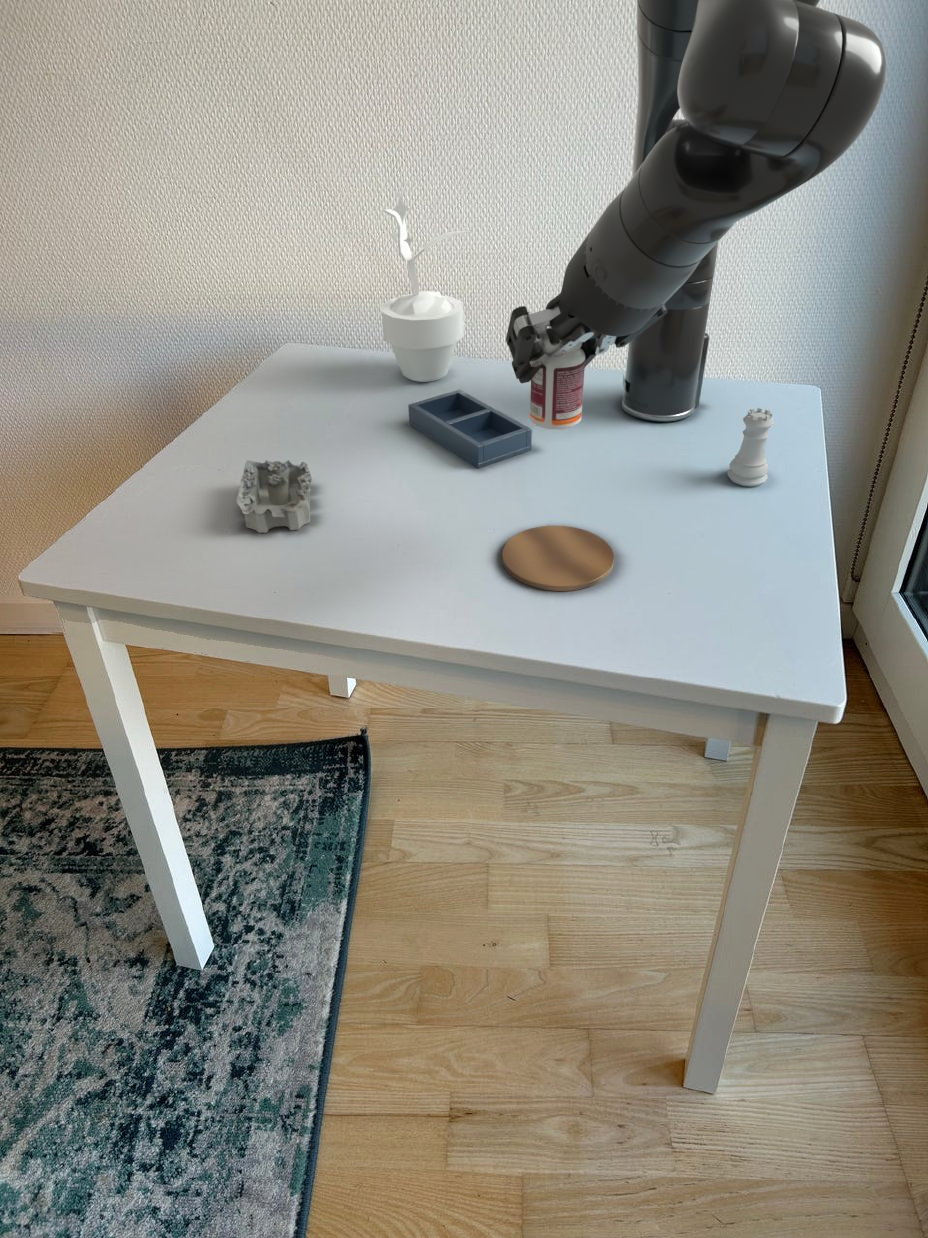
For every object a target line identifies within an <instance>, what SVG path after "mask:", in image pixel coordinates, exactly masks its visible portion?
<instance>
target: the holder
mask: <svg viewBox="0 0 928 1238" xmlns="http://www.w3.org/2000/svg"><path fill="white" fill-rule="evenodd" d="M407 405H408V421H409V422H408V423H409V426H411V427H412V428H414V429H416V430H417V431H419V432H420V433H422V434H423V435H425V436H426V437H428V438H429V439H430V440H433V441H434V442H436V443H438V444H439V445H441V447H444V448H445V449H447V450H449V451H450V452H452V453H453V454H455V455H456V456H458V457H459V458H460V459H462V460H464V461H465V462H468V463H469V464H471V465H472V466H474V467H475V468H477V469H480V468H484V467H487V466H490V465H493V464H495V463H499V462H501V461H504V460H506V459H509V458H510V459H511V458H512V457H515V456H519V455H522V454H524V453H527V452H530V451H531V450H532V439H533V437H532V436H533V435H532V434H533V429H532V428H531V427H529V426H527V425H525V424H524V423H522V422H520V421H518V420H516V419H514V418H513V417H511V416H509V415H507V414H505V413H504V412H501V411H500V410H498V409H496V408H494V407H492V406H491V405H489V404H487V403H485V402H483V401H482V400H479V399H478V398H476V397H474V396H472V395H470V394H469V393H467V392H465V391H463V390H461V389H457V390H453V391H449V392H446V393H443V394H439V395H435V396H432V397H428V398H426V399H422V400H418V401H415V402H412V403H408V404H407Z"/></svg>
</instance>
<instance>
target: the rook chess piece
mask: <svg viewBox="0 0 928 1238" xmlns="http://www.w3.org/2000/svg"><path fill="white" fill-rule="evenodd" d="M755 410H756V411H755ZM742 421H743V423H744V425H745V429H744V430H742V435H743V439H742V442H741V445H740V447H739V451H738V452H737V454H736V455H734V458H733V459H732V460H731V461H730V463H729V469H728V470H727V476H728V477H729V480H730V481H731V482H732V483H735V484H736V485H738V486H743V487H749V488H750V487H751V488H752V487H758V486H762V485H763V484H764V483H765V482H766V481H767V480H768V478H769V477H768V476H769V475H768V473H769V472H770V471H769V470H770V469H769V464H768V462H767V461H768V460H767V458H766V444H767V439H768V438H769V437H770V432H769V429H770V428H771V427H772V426H773V425H774V424H775V420H774V418H773V412H771V410H770V409H767V408H766V409H765V410H764V412H763V407H757V409H756V408H754V407H752V408H750V409H749V410H748V411H747V414H746V415H745V416H743V418H742Z"/></svg>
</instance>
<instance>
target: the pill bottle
mask: <svg viewBox="0 0 928 1238" xmlns="http://www.w3.org/2000/svg"><path fill="white" fill-rule="evenodd" d="M559 340H560V339H559ZM538 342H539V345H540V348H541V350H542V349H543V348H544V344H543V341H542V338H540V340H539V341H538ZM560 342H561V340H560ZM581 346H582V342H579V343H578V344H577V345H575V346H574V347H573V348H571V349H570V350H569V351H567V352H566V353H565V354H563V355H562V356H552V357H551V358H549V359H548V360H547V361H545V362H544V363H543V365H542V366H541V368H540V369H539V370H538V372H537V373H536V374H535V375H534V377H533V378H532V379H531V380H530V399H529V400H530V401H529V412H530V413H529V419H530V422H531V423H532V424H533V425H535V426H536V427H539V428H541V429H542V428H543V429H546V430H552V431H553V430H554V431H561V430H566V429H571V428H573V427H575V426H577V425H579V424H580V422H581V421H582V414H583V401H584V400H583V399H584V398H583V397H584V386H585V385H584V384H585V369H586V367H585V353H584V351H583V350H582V349H581V348H580V347H581Z"/></svg>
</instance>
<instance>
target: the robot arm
mask: <svg viewBox="0 0 928 1238" xmlns="http://www.w3.org/2000/svg"><path fill="white" fill-rule="evenodd" d="M820 1H821V0H636V35H637V36H636V41H637V42H636V44H637V78H638V79H637V80H638V81H637V82H638V87H637V88H638V89H637V91H638V93H637V108H636V110H637V111H636V122H635V135H634V149H633V157H632V177H631V179H630V180H629V182H628V183H627V184H626V186H625V187H624V188H623V190H622V191H621V192H620V193H618V194H617V195H616V196H615V198H613V200H612V201H611V202H610V203H609V204H608V205H607V206H606V208H605V210H604V211H603V212H602V214H600V215H601V216H599V218H598V220H597V221H596V222H595V224H594V225H593V227H592V228H591V230H590V231H589V233H588V234H587V235H586V237H585V238H584V240H583V241H582V243H581V244H580V245H579V248H577V250H576V251H575V253H574V254H573V256H572V257H571V258H570V260H569V262H568V263H567V266H566V268H565V270H564V275H563V280H562V286H561V291H560V293H558V294H557V295H556V296H554V297H553V298H552V299H551V300H549V301H548V303H547V304H546V306H545V309H543V310H540V311H536V312H532V313H531V312H530V311H529V310H528V309H527V306H525V305H520V306H518V307H515V308H514V309H513V310H512V311H511V314H510V318H509V322H508V327H507V332H506V336H505V342H506V345H507V346H508V349H509V351H510V354H511V358H512V361H511V366H512V369H513V372H514V376H515V379H516V380H518V381H519V383H520V384H526V383H531V379H532V378H533V377H534V375H535V374H536V373H537V372H538V370H539V369H540V368H541V366H542V365H543V363H544V362H545V361H547V360H548V359H549V358H551V357H552V356H562V355H563V354H565V353H566V352H567V351H569V350H570V349H571V348H573V347H574V346H575V345H577V344H578V343H579V342H582V346H581V347H580V348H581V349H582V350H583V351H584V353H585V368H586V367H587V366H588V364H590V363H591V362H592V361H593V360H594V359H595V357H597V356H599V355H603V354H605V353H606V352H608V350H609V348H610V346H613V345H615V348H617V349H618V348H623V347H626V346H627V345H628V349H627V356H626V357H627V358H626V368H625V373H623V374H622V375H623V376H622V387H623V396H622V400H621V408H622V409H623V411H624V412H625V413H626V414H628V415H630V416H631V417H634V418H637V419H640V420H644V421H650V422H674V421H675V422H676V421H680V420H683V419H686V418H689V417H690V416H692V414H694V412H695V409H696V408H698V407H699V406H700V400H701V393H702V388H703V387H702V385H703V380H704V374H705V370H706V369H705V368H706V363H707V362H706V361H707V355H708V350H709V342H710V336H709V333H706V331H707V324H708V317H709V311H710V304H711V297H712V291H713V284H714V277H715V270H716V263H717V255H718V248H719V247H718V246H719V242H720V241H721V239H723V237H724V236H725V235H726V234H727V233H728V232H729V230H730V229H731V228H733V226H734V225H735V224H736V223H737V222H740V221H741V220H743V219H745V218H747V217H749V216H751V215H753V214H754V213H757V212H759V211H761V210H762V209H764V208H766V207H767V206H769V205H770V204H772V203H774V202H775V201H777V200H778V199H781V198H782V197H783V196H785V195H787V194H789V193H791V192H792V191H794V190H795V189H797V188H798V187H801V186H802V185H804V184H805V183H807V182H809V181H811V180H812V179H813V178H815V177H817V176H818V175H820V174H821V173H822V172H824V171H825V170H827V168H829V167H830V166H831V165H833V163H835V162H836V161H837V160H839V158H840V157H842V156H843V155H844V154H845V153H846V152H847V150H849V148H850V147H851V146H852V145H853V144H854V142H855V141H857V139H858V138H859V136H860V135H861V134H862V133H863V131H864V130H865V128H866V126H867V125H868V124H869V121H870V119H872V116H873V115H874V113H875V111H876V109H877V107H878V104H879V101H880V99H881V96H882V93H883V89H884V85H885V81H886V72H887V60H886V53H885V50H884V47H883V43H882V41H881V40H880V38H879V37H878V36H877V35H876V33H875V32H874V30H873V29H871V28H870V27H868V26H867V25H865V24H863V23H862V22H860V21H858V20H855V19H852V18H849V17H847V16H844V15H841V14H838V13H836V12H832V11H829V10H826V9H824V8H820V7H817V6H818V4H819V3H820ZM679 111H680V112H681V114H682V116H683V118H675V116H676V115H677V114H678V112H679ZM674 118H675V119H674ZM540 338H542V341H543V344H544V348H543V349H542V350H541V348H540V345H539V342H538V341H539V340H540ZM559 339H560V340H561V342H560V340H559Z"/></svg>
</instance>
